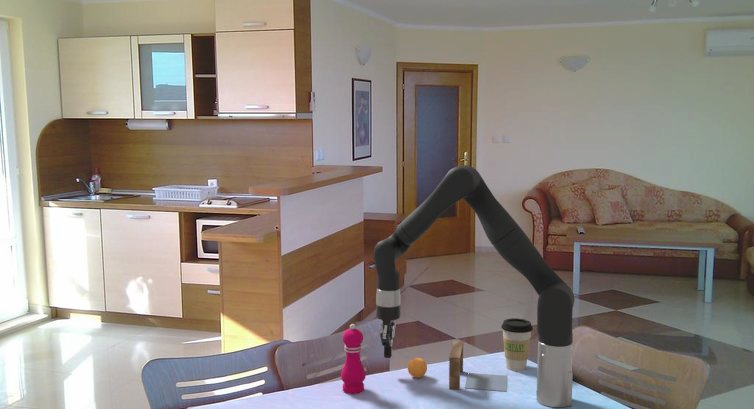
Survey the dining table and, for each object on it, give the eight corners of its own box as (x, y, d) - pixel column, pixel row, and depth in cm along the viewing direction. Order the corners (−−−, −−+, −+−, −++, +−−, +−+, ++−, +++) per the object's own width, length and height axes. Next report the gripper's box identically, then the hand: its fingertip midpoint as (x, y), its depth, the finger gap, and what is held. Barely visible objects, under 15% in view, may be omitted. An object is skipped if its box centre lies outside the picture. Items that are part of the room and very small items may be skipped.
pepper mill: (362, 396, 181) (362, 328, 178) (338, 394, 182) (337, 326, 180) (368, 386, 188) (367, 320, 185) (344, 384, 189) (343, 319, 187)
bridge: (463, 371, 199) (463, 341, 198) (459, 390, 184) (459, 358, 183) (453, 370, 200) (453, 340, 199) (449, 389, 185) (449, 357, 184)
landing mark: (506, 376, 195) (506, 375, 195) (506, 391, 183) (506, 390, 183) (467, 373, 197) (467, 372, 197) (464, 388, 186) (464, 387, 186)
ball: (428, 374, 197) (428, 355, 196) (425, 381, 191) (425, 362, 190) (409, 372, 198) (409, 354, 197) (406, 380, 192) (406, 361, 192)
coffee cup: (494, 365, 204) (495, 320, 203) (519, 360, 208) (519, 316, 207) (513, 375, 195) (514, 328, 194) (538, 370, 200) (539, 324, 198)
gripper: (396, 309, 187) (396, 365, 189) (403, 297, 199) (403, 350, 201) (371, 307, 188) (371, 363, 190) (380, 296, 201) (380, 349, 203)
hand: (387, 356), depth 196 cm, fingers closed
